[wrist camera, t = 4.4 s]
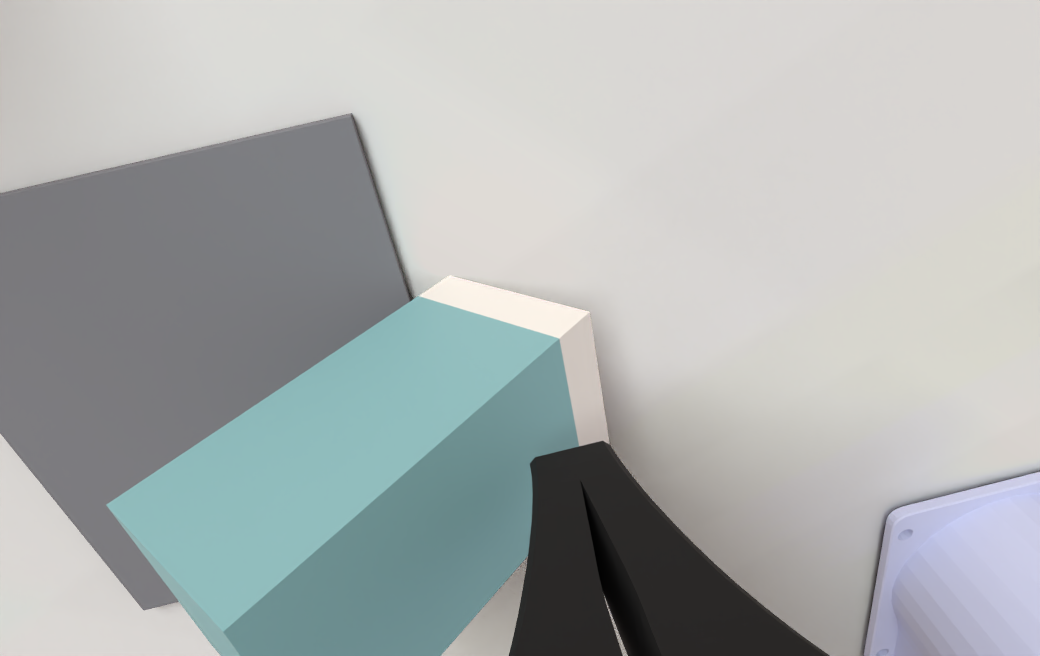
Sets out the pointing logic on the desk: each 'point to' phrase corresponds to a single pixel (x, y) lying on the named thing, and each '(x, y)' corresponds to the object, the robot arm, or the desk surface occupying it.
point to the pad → (178, 308)
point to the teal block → (375, 481)
